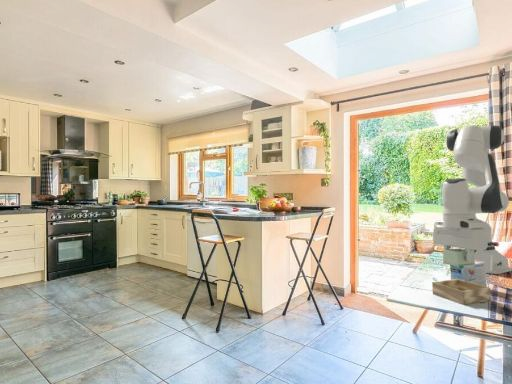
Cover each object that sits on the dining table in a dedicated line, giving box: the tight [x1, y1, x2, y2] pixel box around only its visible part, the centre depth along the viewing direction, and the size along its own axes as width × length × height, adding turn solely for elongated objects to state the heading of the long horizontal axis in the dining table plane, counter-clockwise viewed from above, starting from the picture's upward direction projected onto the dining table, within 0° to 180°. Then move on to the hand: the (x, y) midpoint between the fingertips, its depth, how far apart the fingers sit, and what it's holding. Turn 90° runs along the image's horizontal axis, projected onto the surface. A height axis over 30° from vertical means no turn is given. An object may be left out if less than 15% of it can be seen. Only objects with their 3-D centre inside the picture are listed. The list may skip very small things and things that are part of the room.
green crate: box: [442, 247, 475, 266], centre depth 116 cm, size 8×6×5 cm
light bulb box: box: [449, 261, 488, 287], centre depth 128 cm, size 11×7×11 cm, turn 23°
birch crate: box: [431, 279, 492, 305], centre depth 116 cm, size 12×13×4 cm
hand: (458, 259), depth 116 cm, fingers closed on green crate, 6 cm apart
